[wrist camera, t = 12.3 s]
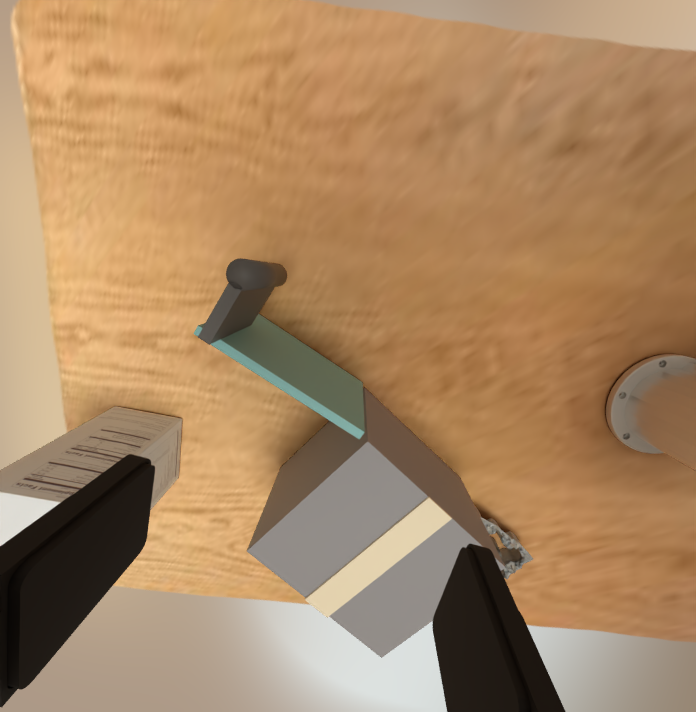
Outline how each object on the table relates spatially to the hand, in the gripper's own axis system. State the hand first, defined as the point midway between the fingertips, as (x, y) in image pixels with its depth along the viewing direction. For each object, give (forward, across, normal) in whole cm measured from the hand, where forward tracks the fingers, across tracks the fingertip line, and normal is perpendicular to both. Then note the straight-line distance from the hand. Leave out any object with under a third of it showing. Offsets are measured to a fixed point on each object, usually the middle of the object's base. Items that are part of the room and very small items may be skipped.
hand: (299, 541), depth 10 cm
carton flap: (+31, +4, -1) cm, 31 cm away
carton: (+32, -7, +17) cm, 37 cm away
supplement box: (+31, +23, +20) cm, 44 cm away
